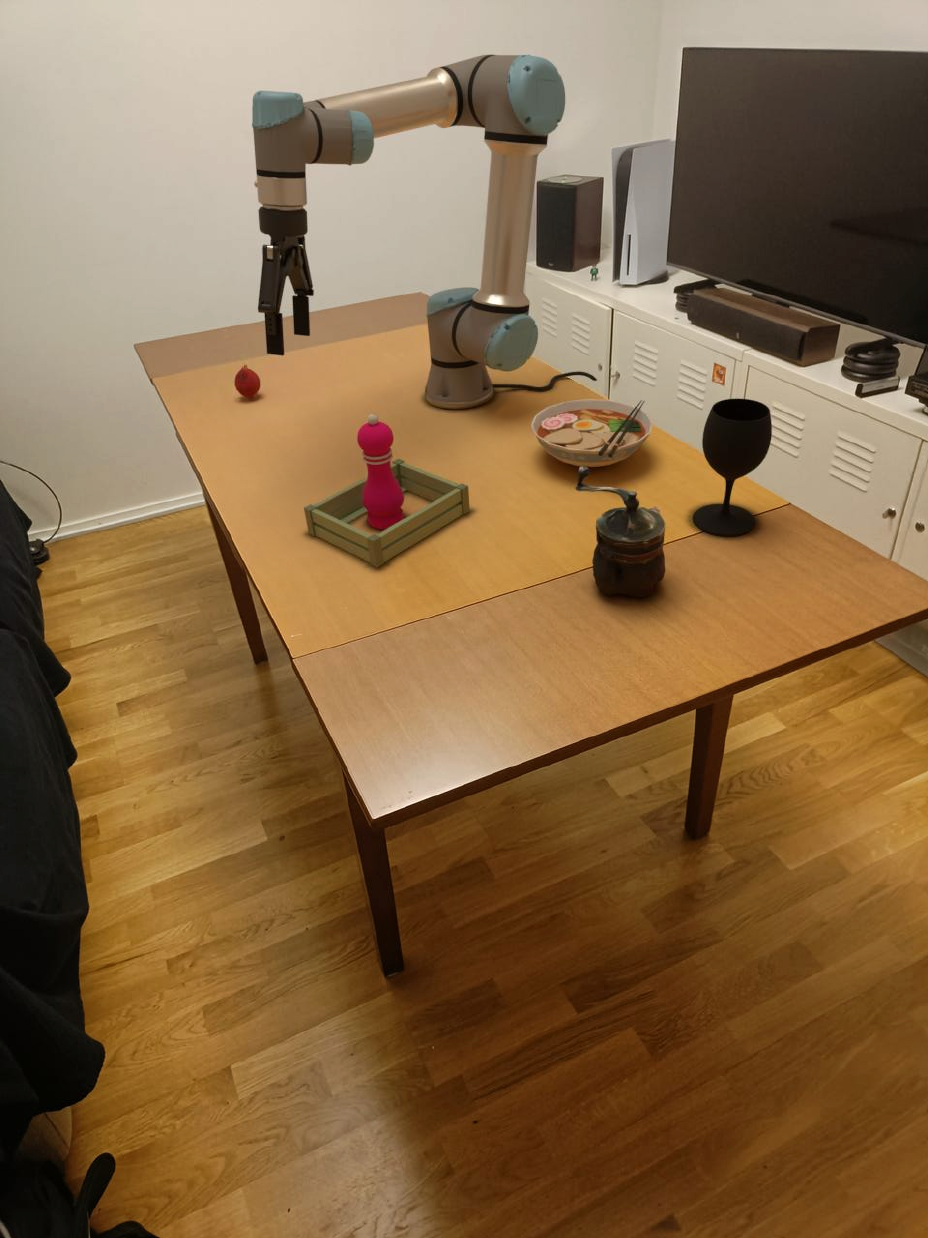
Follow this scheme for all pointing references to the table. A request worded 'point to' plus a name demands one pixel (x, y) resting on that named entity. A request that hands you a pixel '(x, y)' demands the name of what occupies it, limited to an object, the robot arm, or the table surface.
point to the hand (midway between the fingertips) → (289, 344)
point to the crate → (347, 506)
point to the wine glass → (733, 459)
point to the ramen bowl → (591, 431)
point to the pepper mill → (380, 475)
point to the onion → (247, 382)
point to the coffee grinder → (627, 545)
